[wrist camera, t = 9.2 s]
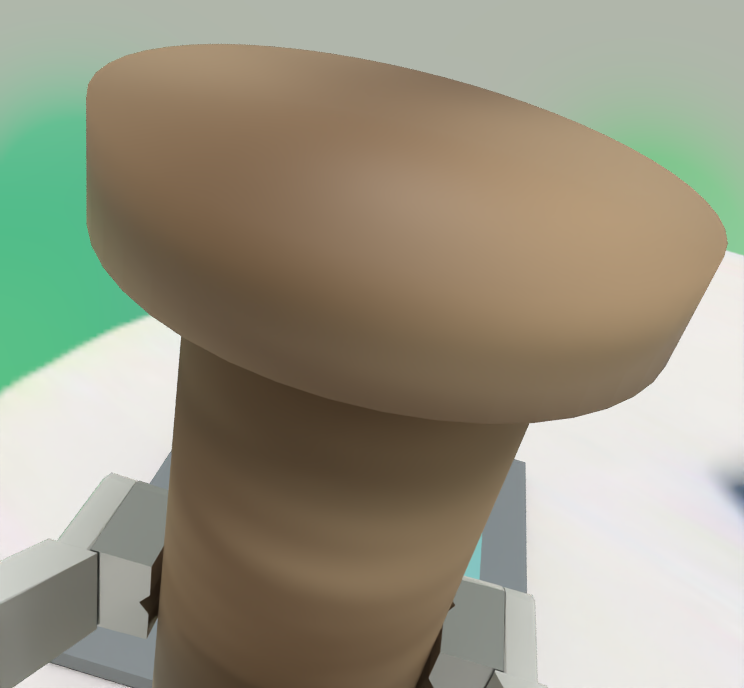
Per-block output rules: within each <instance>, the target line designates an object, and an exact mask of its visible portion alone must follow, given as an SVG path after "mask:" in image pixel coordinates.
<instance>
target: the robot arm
mask: <svg viewBox="0 0 744 688" xmlns="http://www.w3.org/2000/svg"><path fill="white" fill-rule="evenodd" d="M167 502H168V490H167V489H164V488H160V487H157V486H154V485H151V484H148V483H145V482H142V481H137V480H134V479H131V478H128V477H124V476H121V475H118V474H115V473H110V474H109V475H108V476H106V477H105V478H103V480H102V481H101V482H100V484H99V485H98V486H97V488H96V489H95V490H94V492H93V493H92V494H91V496H90V497H89V499H88V500H87V501H86V503H85V504H84V505H83V507H82V508H81V509H80V511H79V512H78V513H77V515H76V516H75V517H74V519H73V520H72V521H71V523H70V524H69V525H68V527H67V528H66V529H65V531H64V532H63V533H62V535H61V536H60V537H59V539H58V540H57V541H56V540H52V539H47V540H44V541H42V542H40V543H38V544H36V545H34V546H31V547H29V548H27V549H25V550H23V551H21V552H19V553H16V554H14V555H12V556H10V557H8V558H6V559H4V560H1V561H0V688H13V687H14V686H16V685H17V684H19V683H20V682H21V681H23V680H24V679H26V678H27V677H29V676H30V675H31V674H33V673H34V672H36V671H37V670H39V669H40V668H42V667H43V666H44V665H46V664H47V663H49V662H50V661H52V660H53V659H55V658H56V657H57V656H59V655H60V654H62V653H63V652H65V651H66V650H67V649H69V648H70V647H72V646H73V645H75V644H76V643H78V642H79V641H80V640H82V639H83V638H85V637H86V636H88V635H89V634H91V633H92V632H93V631H95V630H96V629H97V626H99V627H103V628H106V629H110V630H114V631H118V632H121V633H125V634H129V635H133V636H136V637H140V638H144V639H147V637H148V636H149V634H150V632H151V630H152V628H153V626H154V624H155V622H156V620H157V618H158V611H159V599H160V587H161V575H162V562H163V550H164V538H165V526H166V514H167ZM415 688H548V687H547V686H546V685H543V684H540V683H538V674H537V643H536V612H535V600H534V597H533V595H530V594H526V593H523V592H519V591H516V590H512V589H509V588H505V587H502V586H500V585H496V584H492V583H489V582H485V581H482V580H478V579H474V578H471V577H467V576H463V578H462V581H461V583H460V585H459V588H458V590H457V592H456V595H455V597H454V599H453V602H452V604H451V606H450V609H449V611H448V613H447V616H446V618H445V620H444V622H443V625H442V627H441V629H440V632H439V634H438V636H437V639H436V641H435V643H434V646H433V648H432V650H431V653H430V655H429V657H428V660H427V662H426V664H425V667H424V669H423V671H422V674H421V676H420V678H419V680H418V683H417V685H416V687H415Z"/></svg>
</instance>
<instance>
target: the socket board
mask: <svg viewBox="0 0 744 688" xmlns="http://www.w3.org/2000/svg"><path fill="white" fill-rule="evenodd" d="M171 454H172V450H171V452H170V453H169V455H168V456H167V458H166V459H165V461H164V463H163V464H162V466H161V467H160V469H159V470H158V472H157V473H156V475H155V476H154V478H153V479H152V481H151V482H150V484H151V485H154V486H157V487H160V488H164V489H167V490H169V478H170V466H171ZM464 576H467V577H471V578H474V579H478V580H482V581H485V582H489V583H492V584H496V585H500V586H502V587H505V588H509V589H512V590H516V591H519V592H523V593H526V594H527V567H526V477H525V462H522V461H518V460H515V459H514V460H513V462H512V465H511V467H510V469H509V472H508V474H507V476H506V479H505V481H504V483H503V486H502V488H501V490H500V493H499V495H498V497H497V499H496V502H495V504H494V506H493V509H492V511H491V513H490V516H489V518H488V520H487V523H486V525H485V527H484V530H483V532H482V534H481V537H480V539H479V541H478V544H477V546H476V548H475V551H474V553H473V555H472V558H471V560H470V562H469V564H468V567H467V569H466V571H465V574H464ZM157 623H158V618H157V620H156V622H155V624H154V626H153V628H152V630H151V632H150V634H149V636H148V637H147V639H144V638H140V637H136V636H133V635H129V634H125V633H121V632H118V631H114V630H110V629H106V628H103V627H99V626H97V629H96V630H95V631H93V632H92V633H91V634H89V635H88V636H86V637H85V638H83V639H82V640H80V641H79V642H78V643H76V644H75V645H73V646H72V647H70V648H69V649H67V650H66V651H65V652H63V653H62V654H60V655H59V656H57V657H56V658H55V659H53V660H52V661H50V662H51V663H54V664H58V665H61V666H64V667H68V668H71V669H74V670H77V671H81V672H84V673H87V674H91V675H94V676H97V677H100V678H104V679H107V680H110V681H113V682H117V683H120V684H123V685H127V686H130V687H133V688H152V683H153V671H154V659H155V647H156V635H157Z"/></svg>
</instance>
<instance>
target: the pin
mask: <svg viewBox="0 0 744 688" xmlns="http://www.w3.org/2000/svg"><path fill="white" fill-rule="evenodd" d="M86 114H87V115H86V127H87V128H86V132H87V133H86V143H87V144H86V145H87V146H86V147H87V148H86V149H87V151H86V159H87V228H88V233H89V236H90V241H91V245H92V247H93V249H94V251H95V253H96V254H97V257H98V258H99V260H100V262H101V264H102V266H103V268H104V269H105V270H106V271H107V273H108V274H109V275H110V276H111V277H112V279H113V280H114V281H115V282H116V283H117V285H118V286H119V287H120V288H121V289H122V291H123V292H125V293H126V294H127V295H128V296H129V297H130V298H131V299H133V300H134V301H135V302H136V303H137V304H138V305H139V306H141V307H142V308H143V309H144V310H145V311H146V312H147V313H148V314H150V315H151V316H152V317H154V318H155V319H157V320H158V321H160V322H161V323H163V324H164V325H166V326H167V327H169V328H170V329H172V330H173V331H175V332H176V333H177V334H179V335H180V336H181V345H180V357H179V369H178V381H177V394H176V406H175V418H174V430H173V442H172V454H171V466H170V478H169V490H168V502H167V514H166V526H165V538H164V550H163V562H162V575H161V587H160V599H159V611H158V623H157V635H156V647H155V659H154V671H153V683H152V688H415V687H416V685H417V683H418V680H419V678H420V676H421V674H422V671H423V669H424V667H425V664H426V662H427V660H428V657H429V655H430V653H431V650H432V648H433V646H434V643H435V641H436V639H437V636H438V634H439V632H440V629H441V627H442V625H443V622H444V620H445V618H446V616H447V613H448V611H449V609H450V606H451V604H452V602H453V599H454V597H455V595H456V592H457V590H458V588H459V585H460V583H461V581H462V578H463V576H464V574H465V571H466V569H467V567H468V564H469V562H470V560H471V558H472V555H473V553H474V551H475V548H476V546H477V544H478V541H479V539H480V537H481V534H482V532H483V530H484V527H485V525H486V523H487V520H488V518H489V516H490V513H491V511H492V509H493V506H494V504H495V502H496V499H497V497H498V495H499V493H500V490H501V488H502V486H503V483H504V481H505V479H506V476H507V474H508V472H509V469H510V467H511V465H512V462H513V460H514V458H515V455H516V453H517V451H518V448H519V446H520V444H521V441H522V439H523V437H524V435H525V432H526V430H527V428H528V425H529V423H536V422H544V421H552V420H559V419H567V418H574V417H578V416H582V415H585V414H589V413H593V412H597V411H600V410H604V409H608V408H610V407H612V406H614V405H616V404H619V403H621V402H623V401H625V400H627V399H630V398H632V397H634V396H635V395H637V394H638V393H639V392H641V391H642V390H643V389H645V388H646V387H647V386H649V385H650V384H651V383H653V382H654V380H655V379H656V378H657V377H658V375H659V374H660V373H661V371H662V370H663V369H664V367H665V366H666V364H667V362H668V361H669V359H670V357H671V355H672V353H673V351H674V349H675V347H676V346H677V344H678V342H679V340H680V338H681V336H682V334H683V332H684V331H685V329H686V327H687V325H688V323H689V321H690V319H691V317H692V316H693V314H694V312H695V310H696V308H697V306H698V304H699V302H700V301H701V299H702V297H703V295H704V293H705V291H706V289H707V288H708V286H709V284H710V282H711V280H712V278H713V276H714V274H715V273H716V271H717V269H718V267H719V265H720V263H721V261H722V259H723V258H724V255H725V251H726V248H727V244H728V242H727V237H726V231H725V228H724V226H723V224H722V222H721V220H720V218H719V217H718V215H717V214H716V212H715V211H714V210H713V209H712V208H711V207H710V205H709V204H708V203H707V202H706V201H705V200H704V199H703V198H702V197H701V196H700V195H699V194H698V193H697V192H696V191H694V189H692V188H691V187H690V186H689V185H688V184H686V183H685V182H684V181H682V180H681V179H680V178H678V177H677V176H676V175H674V174H673V173H671V172H670V171H668V170H667V169H665V168H664V167H662V166H660V165H659V164H657V163H656V162H654V161H653V160H651V159H649V158H648V157H646V156H644V155H642V154H640V153H638V152H637V151H635V150H633V149H632V148H630V147H628V146H626V145H624V144H622V143H620V142H618V141H616V140H614V139H612V138H610V137H608V136H606V135H604V134H602V133H599V132H597V131H595V130H593V129H590V128H588V127H586V126H584V125H582V124H579V123H577V122H575V121H572V120H570V119H567V118H565V117H562V116H560V115H558V114H555V113H552V112H550V111H547V110H544V109H542V108H539V107H536V106H534V105H531V104H528V103H526V102H522V101H519V100H517V99H514V98H511V97H508V96H505V95H502V94H499V93H496V92H493V91H489V90H486V89H483V88H480V87H476V86H473V85H470V84H466V83H463V82H459V81H455V80H451V79H448V78H445V77H441V76H436V75H433V74H429V73H425V72H421V71H417V70H412V69H408V68H404V67H399V66H395V65H390V64H386V63H380V62H376V61H370V60H365V59H360V58H355V57H348V56H342V55H337V54H331V53H323V52H316V51H309V50H301V49H292V48H281V47H271V46H257V45H235V44H200V45H199V44H198V45H182V46H171V47H163V48H157V49H151V50H145V51H141V52H138V53H134V54H130V55H126V56H124V57H122V58H119V59H117V60H115V61H112V62H111V63H108V64H107V65H106V66H104V67H103V68H101V69H100V70H99V71H97V72H96V73H95V75H94V76H93V78H92V79H91V81H90V82H89V84H88V89H87V97H86Z"/></svg>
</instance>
